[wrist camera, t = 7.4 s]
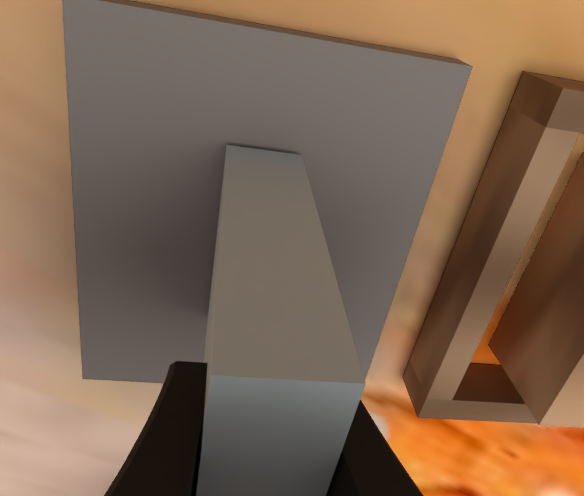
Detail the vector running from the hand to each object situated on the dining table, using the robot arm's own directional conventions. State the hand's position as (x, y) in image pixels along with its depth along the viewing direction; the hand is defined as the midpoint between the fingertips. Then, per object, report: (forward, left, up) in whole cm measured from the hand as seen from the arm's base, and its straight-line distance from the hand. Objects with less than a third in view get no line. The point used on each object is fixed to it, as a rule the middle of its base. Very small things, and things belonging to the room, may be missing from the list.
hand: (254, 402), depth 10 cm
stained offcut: (0, -11, -7) cm, 13 cm away
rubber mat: (0, 0, -7) cm, 7 cm away
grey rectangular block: (0, 0, -6) cm, 6 cm away
